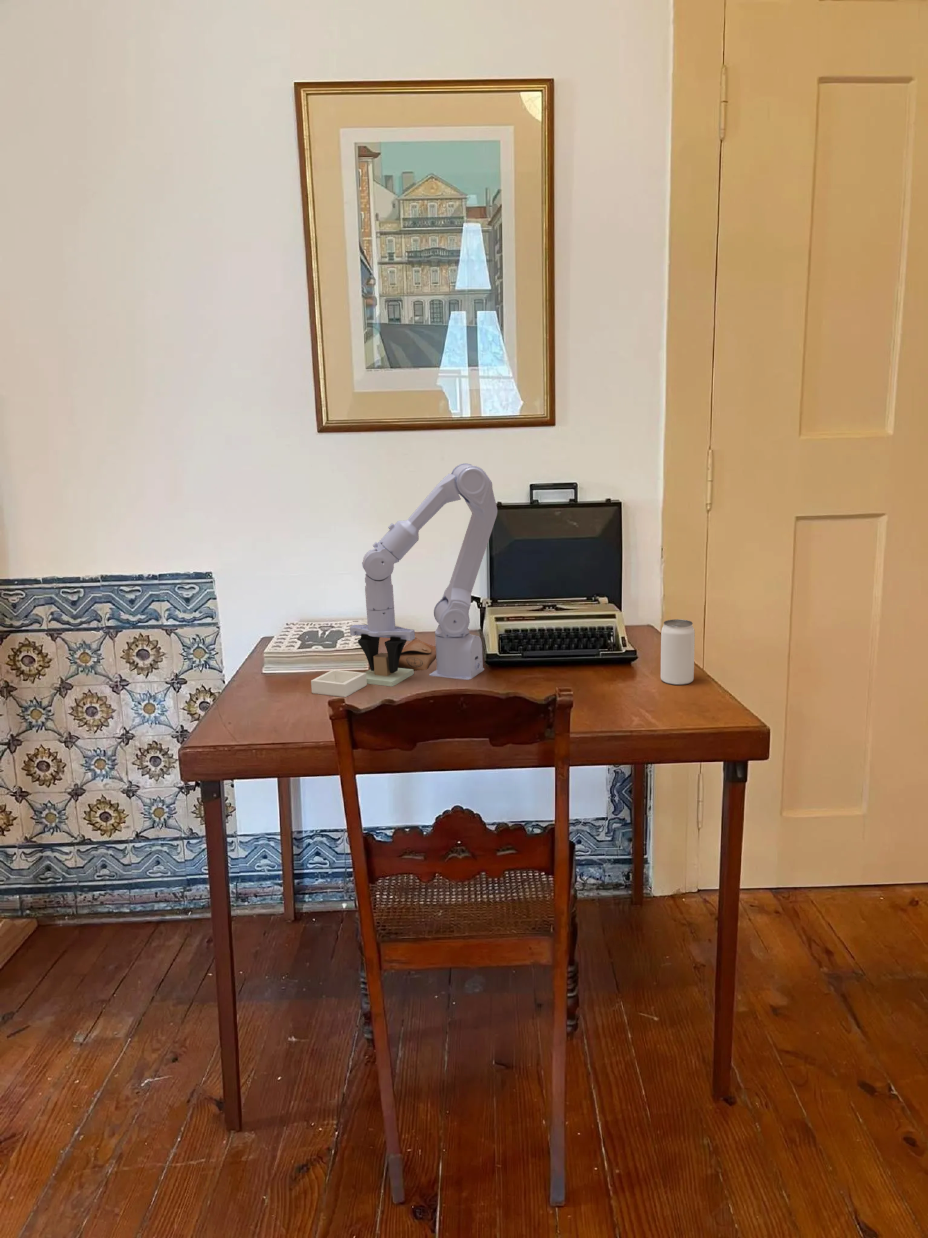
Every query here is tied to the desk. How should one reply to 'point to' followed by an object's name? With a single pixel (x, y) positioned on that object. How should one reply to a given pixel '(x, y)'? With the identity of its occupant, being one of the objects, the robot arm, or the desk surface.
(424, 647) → the sunglasses case
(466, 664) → the robot arm
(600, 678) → the desk surface
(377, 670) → the lid
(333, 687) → the dish
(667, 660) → the can
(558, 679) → the desk surface
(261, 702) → the desk surface
